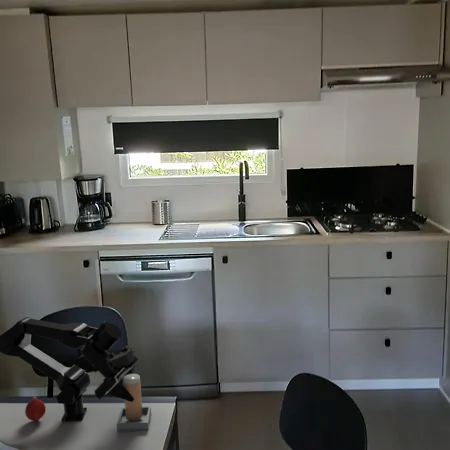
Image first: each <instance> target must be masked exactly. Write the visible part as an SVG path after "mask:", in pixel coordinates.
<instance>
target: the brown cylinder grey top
mask: <svg viewBox="0 0 450 450" xmlns="http://www.w3.org/2000/svg"><path fill="white" fill-rule="evenodd" d="M123 386H124V387H125V388H126V389H127V391H128V392H129V393H130V394H131V395H132V397H133V398H134V401H133V402H130V401H127V400H124V399H123V400H124V408H125V414H126V419H127V420H130V421H135V420H138V419H140V418H141V417H142V416H143V414H142V407H143V402H142V401H143V400H142V391H141V390H142V387H141V386H142V385H141V376H140V374H137V373H134V374H128V375H126V376H124V377H123Z"/></svg>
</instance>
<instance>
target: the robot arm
mask: <svg viewBox="0 0 450 450" xmlns="http://www.w3.org/2000/svg"><path fill="white" fill-rule="evenodd" d="M26 335H31V336H36V337H42V338H45V339H51V340H52V339H53V340H56V341H59V342H60V343H61V345H63V346H66V347H68V348H71V349H76V359H77V360H78V359H80V358H81V357H84V358H85V359H86V360H87V361H88V362H89V363H90V364H91V365H92V366H93V367H94V369H93V372H94V373H98V372H99V373H100V375H102V376H103V378H104V379H103V380H102V381H103V382H102V383H100V385H99V386H98V387H97V388H95V390H94V396H95V397H96V398H97V399H98V400H100V399H102V398H103V396H104V395H105V396H112V397H115V398H118V399H122V400H127V401H130V402H133V401H134V398H133V397H132V395H131V394H130V393H129V392H128V391H127V389H126V388H125V387H124V386H123V377H124V376H126V375H128V374H135V368H136V365H135V364H136V362H137V361H139V359H138V358H137V356H136V355H134V354H135V350H134V349H133V348H132V347H131V346H129V345H125V346H124V347H122V349H121V352H119V353H118V354H116V353H115V352H113V351H112V352H109V351H108V350H110V349H111V348H112V347H113V346H114V345H115V344H116V343H117V342H118V341H119V340H120V339H121V338H122V336H123V333H122V330H121V328H120V326H118V325H116V324H113V323H109V322H108V321H107V320H105V321H103V322H102V323H101V324H100V325H99V326H98V327H94V326H89V325H88V324H86V323H85V322H84V323H83V322H72V323H71V322H70V323H63V324H62V323H57V322H52V321H46V320H41V319H36V318H35V319H34V318H32V317H30V316H29V317H28V316H26V317H24V318H22V319H20V320H18V321H16V323H15V324H14V325H13V326H11V327H10V328H8V329H6V330H5V331H2V332H1V333H0V353H1V354H3V355H5V356H8V357H17V358H19V359H21V360H22V361H24V362H25V363H27V364H29V365H30V366H32V367H33V368H35V369H37V370H38V371H39V372H41V373H43V374H44V375H45V376H47V377H49V378H50V379H51V380H53V381H55V383H56V384H57V387H58V389H59V391H60V392H59V393H58V394H57V395H56V397H55V398H56V401H57V403H58V404H63V415H62V417H61V422H72V421H82V420H84V418H85V415H86V412H87V409H88V407H84V402H83V401H84V400H83V395H84V394H85V392H86V391H87V389H88V388H89V387H90V385H91V379H90V375H89V373H88V372H86V369H82V368H81V367H80V366H78V364H73V365H72V366H71V367H67V366H65V365H63V364H62V363H60V362H58V361H57V360H55V359H54V358H53V357H51V356H49V355H48V354H46V353H44V352H43V351H41V350H40V349H38V348H37V347H35V346H34V345H32V344H30V342H29V340H28V338H27V336H26ZM120 377H121V378H120ZM119 378H120V379H119ZM141 392H142V389H141Z"/></svg>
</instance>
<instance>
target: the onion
mask: <svg viewBox="0 0 450 450" xmlns="http://www.w3.org/2000/svg"><path fill="white" fill-rule="evenodd" d="M46 411H47V409H46V404H45V402H43V401H42V400H40V399H39V398H38V397H37V396H33V398H32V399H31V400H30V401H28V403H27V404H26V406H25V410H24V413H25V416H26V418H27V419H28V420H30V421H33V422H39V421H40V420H41V419H42V417H44V416H45V414H46Z"/></svg>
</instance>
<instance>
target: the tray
mask: <svg viewBox="0 0 450 450" xmlns="http://www.w3.org/2000/svg"><path fill="white" fill-rule="evenodd" d="M142 414H143V416H142V417H141V418H140V419H138V420H135V421H130V420H127V419H126V414H125V407H121V408H120V412H119V415H118V419H117V422H116V431H117V433H120V432H121V433H122V432H123V433H125V432H137V431H138V432H141V431H149V428H150V423H151V416H152V406H151V405H148V406H147V405H145V406H142Z"/></svg>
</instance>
